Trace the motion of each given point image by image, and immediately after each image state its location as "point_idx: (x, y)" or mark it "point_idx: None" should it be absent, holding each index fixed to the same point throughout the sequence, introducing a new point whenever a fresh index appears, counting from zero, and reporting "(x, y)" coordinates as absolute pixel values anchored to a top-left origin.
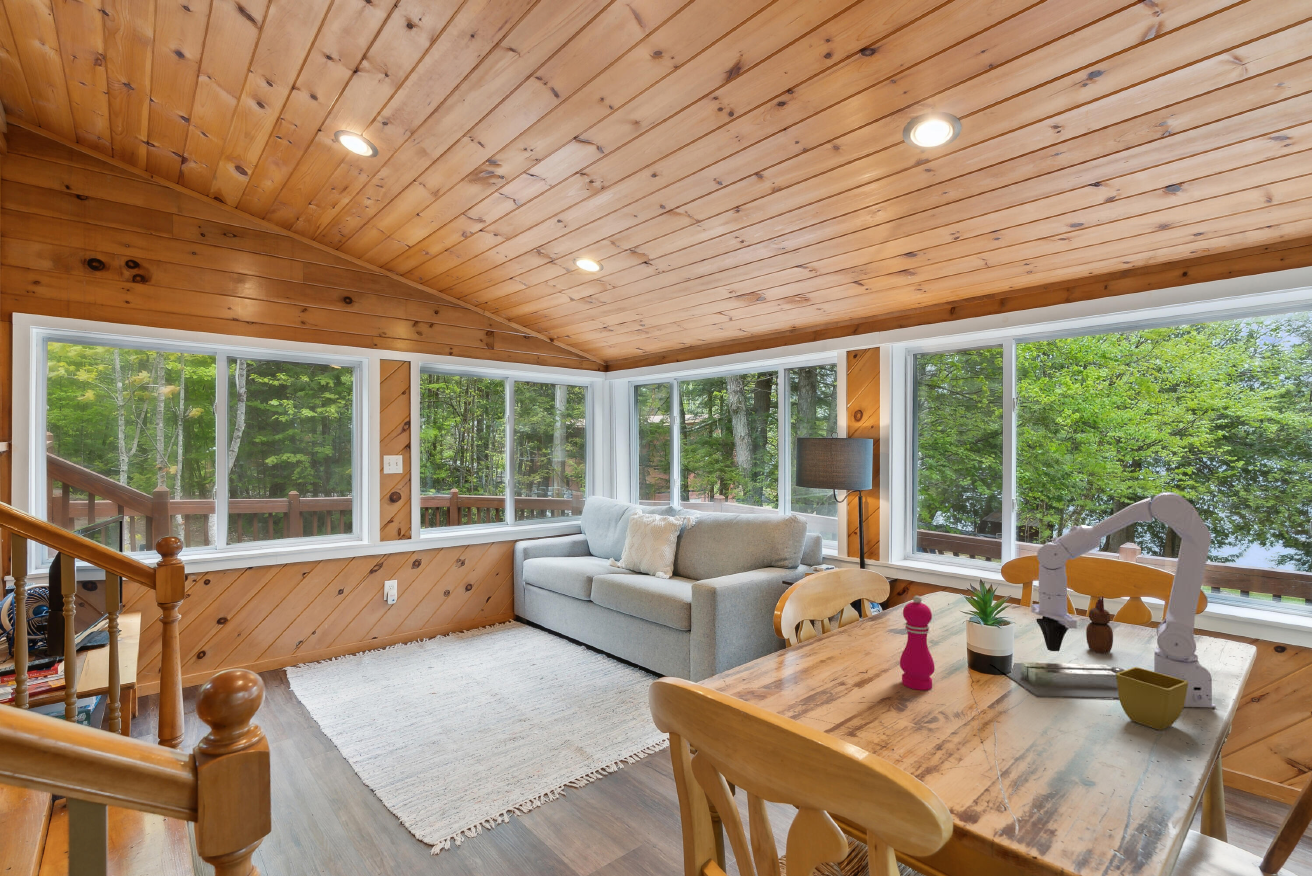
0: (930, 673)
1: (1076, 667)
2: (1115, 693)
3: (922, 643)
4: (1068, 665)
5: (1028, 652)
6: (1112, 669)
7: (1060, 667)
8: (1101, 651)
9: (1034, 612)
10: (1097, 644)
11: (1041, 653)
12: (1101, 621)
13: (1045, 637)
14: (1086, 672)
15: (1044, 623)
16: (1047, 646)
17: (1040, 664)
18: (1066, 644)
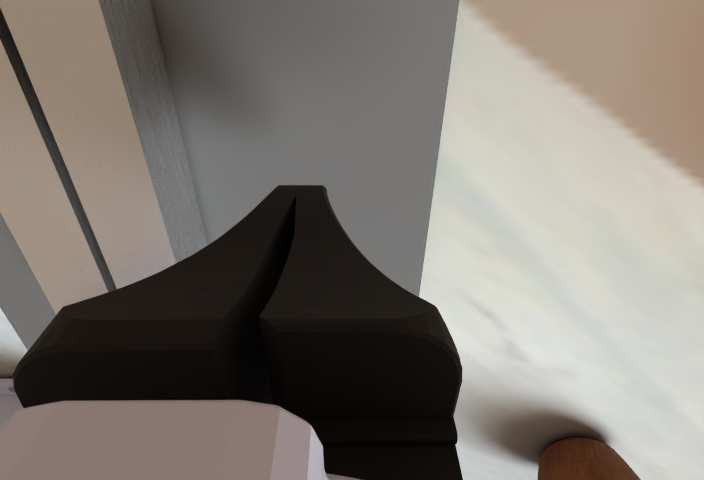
0: None
1: (88, 215)
2: (18, 258)
3: None
4: (114, 186)
5: (665, 197)
6: None
7: (43, 102)
8: (546, 452)
9: (231, 434)
10: (562, 473)
11: (625, 255)
12: None
13: (305, 226)
14: (32, 229)
15: (118, 321)
16: (307, 192)
17: None
18: (687, 404)
